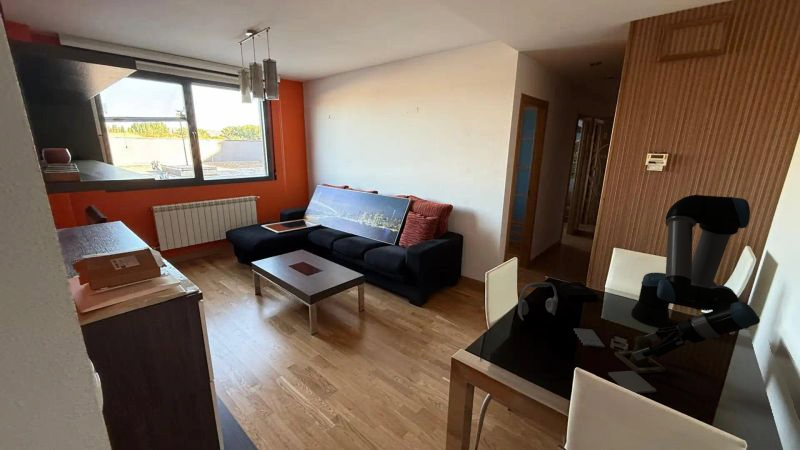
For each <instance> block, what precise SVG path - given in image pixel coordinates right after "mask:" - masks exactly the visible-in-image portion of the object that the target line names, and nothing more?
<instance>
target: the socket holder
mask: <svg viewBox="0 0 800 450" xmlns="http://www.w3.org/2000/svg"><path fill="white" fill-rule="evenodd" d="M632 352H633V350H625V351H614V355H615V356H616V357H617V358H618V359H619V360H620V361H621V362H623V363H624V364H625V365H626V366H628V367H629V368H630V369H631V370H632V371H634V372H635V373H637V374H638V375H639V374H651V373H653V374H654V373H664V372H665V373H666V370H667V369H666V368H665V367H664V366H662V365H661V364H660V363H658V362H657V361H656V360H654V359H653V358H652V357H651V356H650V357H649V362H648V364H649V363H650V365H652V366H648V367H647V368H641V367H638V366H635V365H634V364H633V363H632V362H630V359H628V358H627V357H631V355H632Z"/></svg>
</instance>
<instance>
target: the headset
mask: <svg viewBox="0 0 800 450" xmlns="http://www.w3.org/2000/svg"><path fill="white" fill-rule="evenodd" d="M550 286H551V288H552V287H553V288H552V289H553V294H554V296H553V297H549V298H547V300H545V309H546V311H547V313H550V314H552V315H553V316H554V317H555V316H556V313H557V308H558V303H559V297H558V292H557V290H556V288H555V286H554V285H553V283H552V282H545V281H542V282H540V281H538V282H537V281H536V282H531V283H528V284H526V285H525V286H524V287H523V289H522V290H521V293H520V295H519V298H518V301H517V315H518V316H519V318H520V319H521V321H522V322H523V321H524V317H523V316H526V315H527V314H528V313H529V305H528V303H527V302H528V301H526V300H525V299H523V297H524V295H525V293H526V291H527V290H528V289H529V288H548V287H550Z"/></svg>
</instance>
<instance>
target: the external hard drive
mask: <svg viewBox="0 0 800 450" xmlns="http://www.w3.org/2000/svg"><path fill="white" fill-rule="evenodd" d="M574 331H575V332H574ZM573 332H574V333H575V335H576V334H577V335H576V336H577V338H578V337H579V338H578V340H579V341H580V340H581V341H580V342H581V344H582V343H583V344H582V345H583V347H589V346H592V347H593V348H594V347H595V348H602V349H605V348H606V346H605V344H604V343H603V342H602V340H601V339H600V338H599V335H597V334H596V332H595V331H594V330H593V329H589V328H588V329H587V328H577V327H574V328H573ZM592 347H591V348H592Z"/></svg>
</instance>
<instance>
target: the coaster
mask: <svg viewBox="0 0 800 450" xmlns="http://www.w3.org/2000/svg"><path fill="white" fill-rule="evenodd" d="M607 375H608V376H609V377H610V378H611V379H612V380H614V382H616V384H618V385H619V386H620V387H621V386H622V387H625V388H627V389H629V390H631V391H633V392H636V393H638V394H639V395H641V394H652V393H657V389H656V388H655V387H654V386H652V385H651V384H650V383H649V382H647V381H646V380H645V379H644V378H642V377H641V376H640V375H639V374H637V373H636V372H635V371H634V370H625V371H623V370H622V371H609V372H608V373H607ZM622 387H621V388H622ZM638 394H637V395H638Z"/></svg>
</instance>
